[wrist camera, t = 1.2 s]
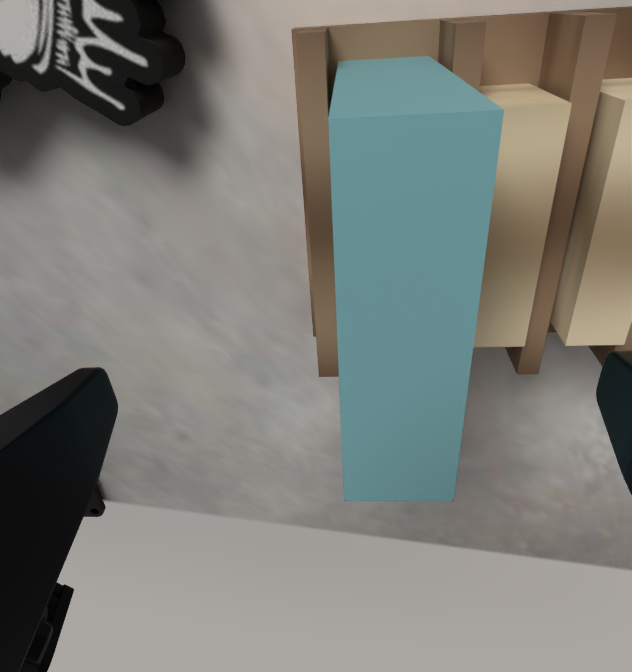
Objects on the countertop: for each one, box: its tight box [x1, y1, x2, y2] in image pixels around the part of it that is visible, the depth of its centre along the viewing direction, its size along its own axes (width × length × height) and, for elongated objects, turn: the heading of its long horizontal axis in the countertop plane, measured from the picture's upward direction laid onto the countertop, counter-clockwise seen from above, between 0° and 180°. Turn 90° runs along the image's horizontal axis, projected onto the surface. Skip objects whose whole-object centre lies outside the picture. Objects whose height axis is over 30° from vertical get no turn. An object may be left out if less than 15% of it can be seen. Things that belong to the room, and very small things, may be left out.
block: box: [328, 56, 504, 501], centre depth 16 cm, size 10×3×10 cm, turn 3°
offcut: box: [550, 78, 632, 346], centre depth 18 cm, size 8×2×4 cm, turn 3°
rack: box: [292, 7, 632, 377], centre depth 19 cm, size 12×13×4 cm
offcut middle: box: [474, 83, 572, 347], centre depth 18 cm, size 8×2×4 cm, turn 3°
